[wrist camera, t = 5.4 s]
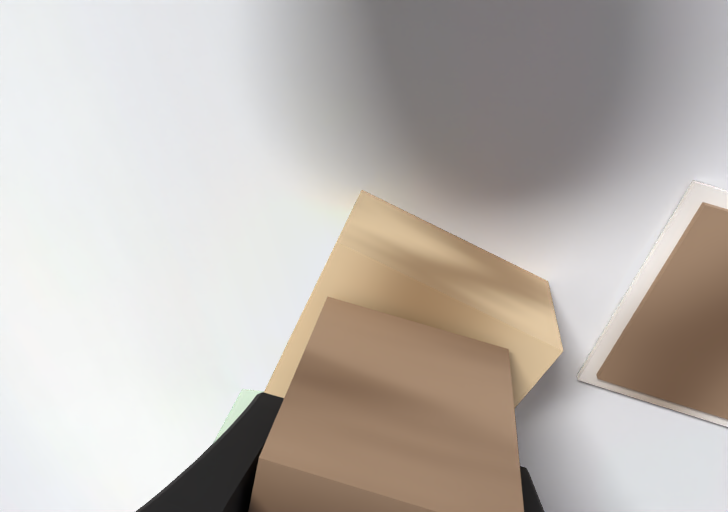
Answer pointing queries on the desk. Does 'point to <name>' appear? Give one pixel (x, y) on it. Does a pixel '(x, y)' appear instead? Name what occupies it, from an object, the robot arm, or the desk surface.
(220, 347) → the desk surface
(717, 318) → the tile
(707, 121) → the desk surface
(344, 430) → the walnut block
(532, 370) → the maple block
